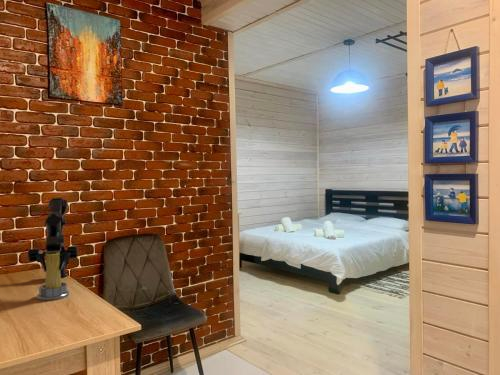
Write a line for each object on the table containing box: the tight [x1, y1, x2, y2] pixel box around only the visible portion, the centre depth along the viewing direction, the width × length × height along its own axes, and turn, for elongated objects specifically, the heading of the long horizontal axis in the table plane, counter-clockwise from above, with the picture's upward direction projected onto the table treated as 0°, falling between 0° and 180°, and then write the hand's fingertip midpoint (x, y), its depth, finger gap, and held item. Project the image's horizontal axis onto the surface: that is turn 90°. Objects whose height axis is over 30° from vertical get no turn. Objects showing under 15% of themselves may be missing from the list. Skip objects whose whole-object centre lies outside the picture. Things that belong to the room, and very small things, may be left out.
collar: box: [36, 281, 70, 302], centre depth 160 cm, size 12×12×4 cm
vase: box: [44, 252, 62, 288], centre depth 160 cm, size 6×6×14 cm
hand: (52, 270), depth 159 cm, fingers closed on vase, 5 cm apart
